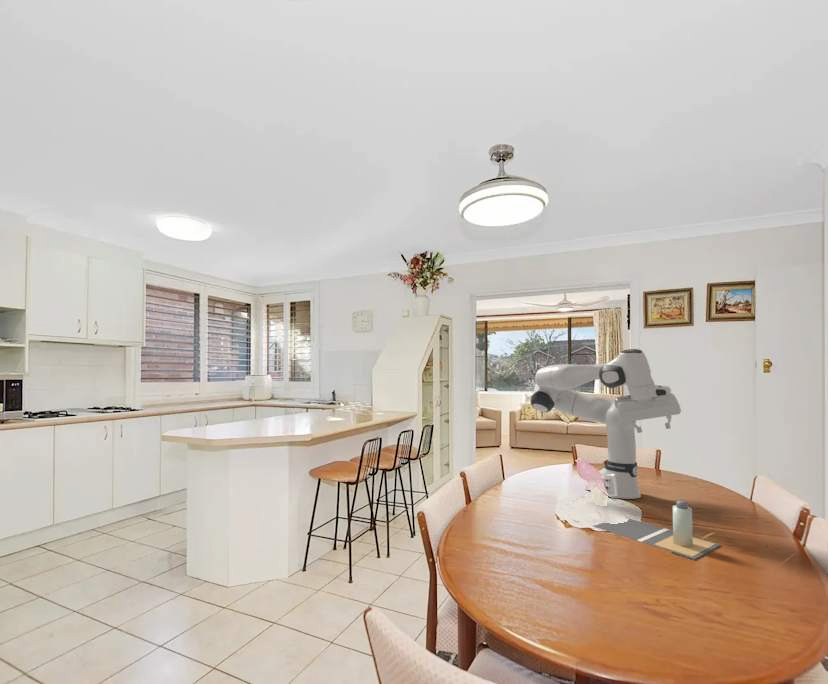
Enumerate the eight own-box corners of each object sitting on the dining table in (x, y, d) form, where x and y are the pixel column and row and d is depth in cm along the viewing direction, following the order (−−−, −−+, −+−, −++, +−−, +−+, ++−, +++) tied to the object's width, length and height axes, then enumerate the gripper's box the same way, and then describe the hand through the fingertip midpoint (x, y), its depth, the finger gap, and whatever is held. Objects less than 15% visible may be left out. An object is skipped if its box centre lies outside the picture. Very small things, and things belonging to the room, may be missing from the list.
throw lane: (593, 527, 156) (593, 526, 156) (621, 517, 167) (621, 515, 167) (694, 560, 130) (694, 558, 130) (720, 545, 141) (720, 544, 141)
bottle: (670, 543, 141) (669, 501, 142) (678, 539, 145) (677, 498, 145) (688, 548, 137) (687, 505, 138) (695, 544, 140) (694, 502, 141)
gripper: (611, 399, 167) (622, 436, 166) (673, 388, 157) (685, 428, 156) (614, 396, 173) (624, 432, 172) (674, 385, 162) (685, 423, 161)
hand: (654, 430), depth 164 cm, fingers open, 8 cm apart
